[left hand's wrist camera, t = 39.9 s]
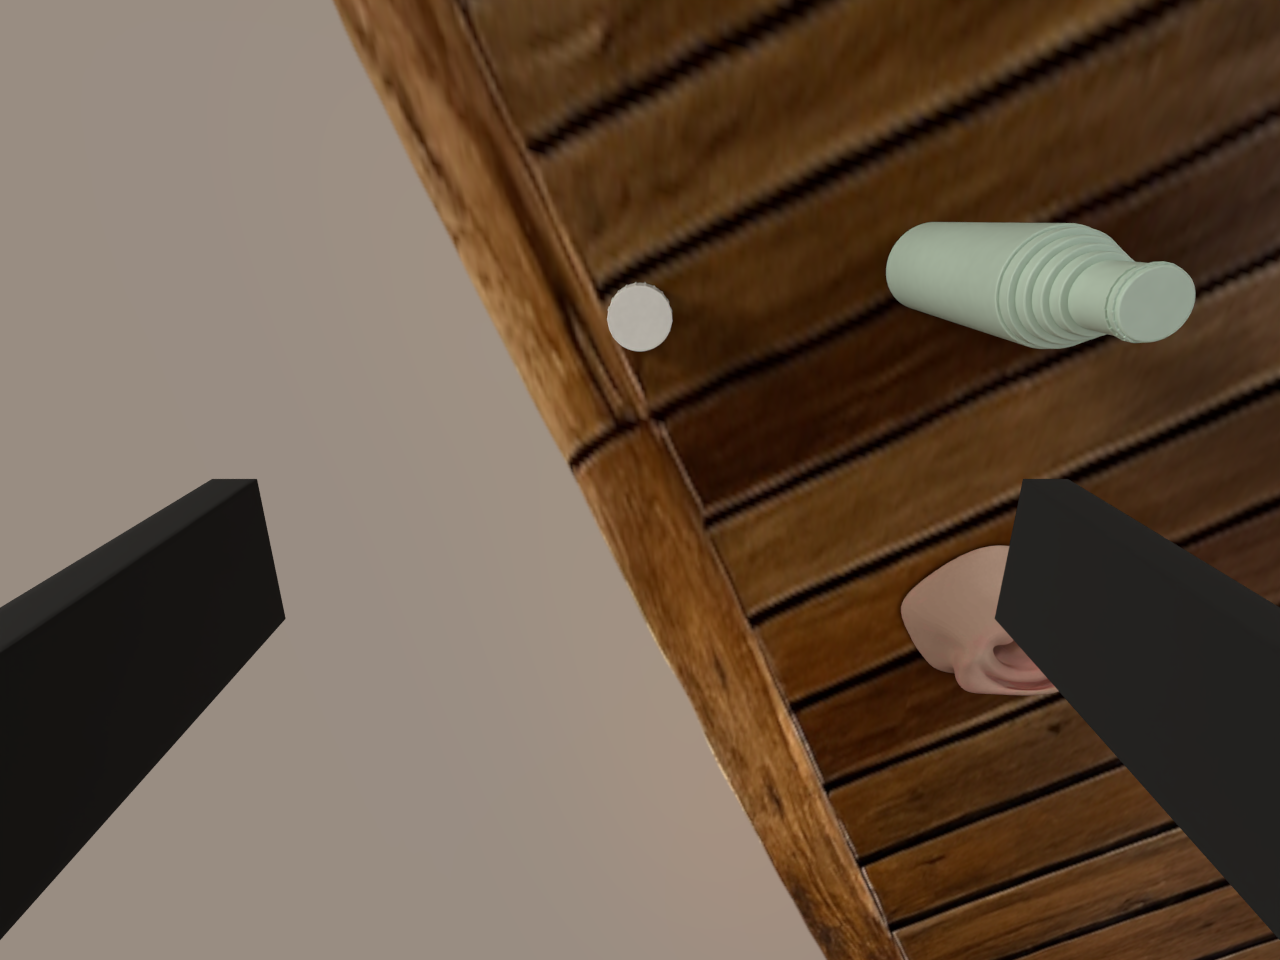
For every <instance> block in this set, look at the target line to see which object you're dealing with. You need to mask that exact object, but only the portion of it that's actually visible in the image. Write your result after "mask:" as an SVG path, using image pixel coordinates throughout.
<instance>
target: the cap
mask: <svg viewBox="0 0 1280 960" xmlns="http://www.w3.org/2000/svg"><path fill="white" fill-rule="evenodd" d="M607 321H608V326H609V330H610V332H611V334H612V336H613V337H614V339H615V340H616V341H617V342H618V343H619V344H620V345H621V346H623V347H625V348H627V349H629V350H632V351H647V350H651V349H653V348H655V347H657V346H658V345H660V344H661V343H662V342H663V341H664V340H665V339H666V337H667V336H668V334H669V332H670V329H671V325H672V322H673V320H672V309H671V308H670V305H669V300H668V299H667V298H666V297H665V295H664V294H663V291H660V290H659V289H658V288H656V287H655V285H654V286H652V285H650V284H646V282H645V283H636V282H635V283H634V284H630V285H626V287H624V288H622V289H621V290H620V291H619V290H618V292H617V294H616V295H615V296H614V298H612V300H611V305H610V307H609V308H608V318H607Z"/></svg>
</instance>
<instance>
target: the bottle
mask: <svg viewBox="0 0 1280 960" xmlns="http://www.w3.org/2000/svg"><path fill="white" fill-rule="evenodd" d="M886 278H887V283H888V286H889V289H890V291H891V293H892V294H893V296H894V297H895V298H896V299H897V300H898V301H899V302H900V303H901V304H903V305H904V306H907V307H909V308H912V309H915V310H918V311H921V312H924V313H927V314H930V315H933V316H936V317H939V318H942V319H945V320H948V321H951V322H954V323H957V324H960V325H963V326H966V327H970V328H973V329H976V330H979V331H982V332H985V333H988V334H991V335H994V336H997V337H1000V338H1003V339H1006V340H1009V341H1012V342H1015V343H1018V344H1021V345H1024V346H1028V347H1031V348H1037V349H1060V348H1067V347H1071V346H1074V345H1077V344H1080V343H1082V342H1085V341H1088V340H1091V339H1094V338H1097V337H1099V336H1103V335H1106V334H1109V335H1113V336H1116V337H1117V338H1119V339H1121V340H1123V341H1127V342H1131V343H1144V342H1146V343H1148V342H1155V341H1159V340H1161V339H1164V338H1166V337H1168V336H1170V335H1171V334H1173V333H1174V332H1176V331H1177V330H1178V329H1179V328H1180V327H1181V326H1182V325H1183V324H1184V323H1185V321H1186V320H1187V319H1188V317H1189V315H1190V313H1191V311H1192V309H1193V306H1194V303H1195V287H1194V283H1193V281H1192V279H1191V277H1190V276H1189V275H1188V274H1187V273H1186V272H1185V271H1184V270H1183V269H1182V268H1180V267H1178V266H1177V265H1175V264H1173V263H1169V262H1164V261H1162V262H1151V263H1142V262H1135V261H1134V260H1133V259H1131V258H1130V257H1129V256H1128V255H1127V254H1126V253H1125V252H1124V251H1123V250H1122V249H1121V248H1120V247H1119V246H1118V245H1117V243H1116V242H1115V241H1114V240H1113V239H1112V238H1110V237H1109V236H1108V235H1106V234H1105V233H1103V232H1101V231H1098V230H1095V229H1092V228H1090V227H1088V226H1085V225H1081V224H1075V223H980V222H929V223H924V224H921V225H918V226H916V227H914V228H912V229H910V230H909V231H907V232H906V233H905V234H904V235H903V236H902V237H901V238H900V239H899V240H898V241H897V242H896V244H895V245H894V247H893V249H892V250H891V252H890V255H889V257H888V261H887V267H886Z"/></svg>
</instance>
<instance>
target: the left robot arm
mask: <svg viewBox="0 0 1280 960" xmlns="http://www.w3.org/2000/svg"><path fill="white" fill-rule="evenodd" d="M284 620H285V614H284V609H283V604H282V599H281V594H280V590H279V585H278V580H277V575H276V570H275V565H274V560H273V555H272V551H271V546H270V541H269V536H268V531H267V526H266V521H265V516H264V511H263V507H262V502H261V497H260V492H259V487H258V482H257V479H212V480H210V481H208V482H207V483H205V484H203V485H202V486H200V487H198V488H197V489H195V490H193V491H192V492H190V493H188V494H187V495H185V496H183V497H182V498H180V499H179V500H177V501H175V502H174V503H172V504H170V505H169V506H167V507H165V508H164V509H162V510H160V511H159V512H157V513H155V514H154V515H152V516H151V517H149V518H147V519H146V520H144V521H142V522H141V523H139V524H137V525H136V526H134V527H132V528H131V529H129V530H128V531H126V532H124V533H123V534H121V535H119V536H118V537H116V538H114V539H113V540H111V541H109V542H108V543H106V544H104V545H103V546H101V547H99V548H98V549H96V550H95V551H93V552H91V553H90V554H88V555H86V556H85V557H83V558H81V559H80V560H78V561H76V562H75V563H73V564H71V565H70V566H68V567H66V568H65V569H63V570H62V571H60V572H58V573H57V574H55V575H53V576H52V577H50V578H48V579H47V580H45V581H43V582H42V583H40V584H38V585H37V586H35V587H34V588H32V589H30V590H29V591H27V592H25V593H24V594H22V595H20V596H19V597H17V598H15V599H14V600H12V601H10V602H9V603H7V604H6V605H4V606H2V607H1V608H0V940H1V938H2V937H3V936H4V935H5V934H6V933H7V932H8V931H9V929H10V928H11V927H12V926H13V925H14V924H15V923H16V921H17V920H18V919H19V918H20V917H21V916H22V915H23V914H24V913H25V911H26V910H27V909H28V908H29V907H30V906H31V905H32V903H33V902H34V901H35V900H36V899H37V898H38V897H39V896H40V894H41V893H42V892H43V891H44V890H45V889H46V888H47V887H48V886H49V884H50V883H51V882H52V881H53V880H54V879H55V878H56V876H57V875H58V874H59V873H60V872H61V871H62V870H63V869H64V868H65V866H66V865H67V864H68V863H69V862H70V861H71V860H72V858H73V857H74V856H75V855H76V854H77V853H78V852H79V851H80V849H81V848H82V847H83V846H84V845H85V844H86V843H87V842H88V840H89V839H90V838H91V837H92V836H93V835H94V834H95V833H96V831H97V830H98V829H99V828H100V827H101V826H102V825H103V824H104V822H105V821H106V820H107V819H108V818H109V817H110V816H111V814H112V813H113V812H114V811H115V810H116V809H117V808H118V807H119V806H120V804H121V803H122V802H123V801H124V800H125V799H126V798H127V797H128V795H129V794H130V793H131V792H132V791H133V790H134V789H135V788H136V786H137V785H138V784H139V783H140V782H141V781H142V780H143V779H144V777H145V776H146V775H147V774H148V773H149V772H150V771H151V770H152V768H153V767H154V766H155V765H156V764H157V763H158V762H159V761H160V759H161V758H162V757H163V756H164V755H165V754H166V753H167V752H168V750H169V749H170V748H171V747H172V746H173V745H174V744H175V743H176V741H177V740H178V739H179V738H180V737H181V736H182V735H183V734H184V732H185V731H186V730H187V729H188V728H189V727H190V726H191V724H192V723H193V722H194V721H195V720H196V719H197V718H198V717H199V715H200V714H201V713H202V712H203V711H204V710H205V709H206V708H207V706H208V705H209V704H210V703H211V702H212V701H213V700H214V699H215V697H216V696H217V695H218V694H219V693H220V692H221V691H222V690H223V688H224V687H225V686H226V685H227V684H228V683H229V682H230V681H231V679H232V678H233V677H234V676H235V675H236V674H237V673H238V672H239V670H240V669H241V668H242V667H243V666H244V665H245V664H246V663H247V661H248V660H249V659H250V658H251V657H252V656H253V655H254V654H255V652H256V651H257V650H258V649H259V648H260V647H261V646H262V645H263V643H264V642H265V641H266V640H267V639H268V638H269V637H270V636H271V634H272V633H273V632H274V631H275V630H276V629H277V628H278V627H279V625H280V624H281V623H282V622H283V621H284ZM995 620H996V621H997V622H998V623H999V624H1000V625H1001V627H1002V628H1003V629H1004V630H1005V631H1006V632H1007V633H1008V634H1009V636H1010V637H1011V638H1012V639H1013V640H1014V641H1015V642H1016V643H1017V645H1018V646H1019V647H1020V648H1021V649H1022V650H1023V651H1024V652H1025V654H1026V655H1027V656H1028V657H1029V658H1030V659H1031V660H1032V661H1033V663H1034V664H1035V665H1036V666H1037V667H1038V668H1039V669H1040V670H1041V672H1042V673H1043V674H1044V675H1045V676H1046V677H1047V678H1048V679H1049V681H1050V682H1051V683H1052V684H1053V685H1054V686H1055V687H1056V688H1057V690H1058V691H1059V692H1060V693H1061V694H1062V695H1063V696H1064V697H1065V699H1066V700H1067V701H1068V702H1069V703H1070V704H1071V705H1072V706H1073V708H1074V709H1075V710H1076V711H1077V712H1078V713H1079V714H1080V716H1081V717H1082V718H1083V719H1084V720H1085V721H1086V722H1087V723H1088V725H1089V726H1090V727H1091V728H1092V729H1093V730H1094V731H1095V732H1096V734H1097V735H1098V736H1099V737H1100V738H1101V739H1102V740H1103V741H1104V743H1105V744H1106V745H1107V746H1108V747H1109V748H1110V749H1111V750H1112V752H1113V753H1114V754H1115V755H1116V756H1117V757H1118V758H1119V759H1120V761H1121V762H1122V763H1123V764H1124V765H1125V766H1126V767H1127V768H1128V770H1129V771H1130V772H1131V773H1132V774H1133V775H1134V776H1135V777H1136V779H1137V780H1138V781H1139V782H1140V783H1141V784H1142V785H1143V786H1144V788H1145V789H1146V790H1147V791H1148V792H1149V793H1150V794H1151V795H1152V797H1153V798H1154V799H1155V800H1156V801H1157V802H1158V803H1159V804H1160V806H1161V807H1162V808H1163V809H1164V810H1165V811H1166V812H1167V813H1168V815H1169V816H1170V817H1171V818H1172V819H1173V820H1174V821H1175V822H1176V824H1177V825H1178V826H1179V827H1180V828H1181V829H1182V830H1183V831H1184V833H1185V834H1186V835H1187V836H1188V837H1189V838H1190V839H1191V840H1192V842H1193V843H1194V844H1195V845H1196V846H1197V847H1198V848H1199V850H1200V851H1201V852H1202V853H1203V854H1204V855H1205V856H1206V857H1207V859H1208V860H1209V861H1210V862H1211V863H1212V864H1213V865H1214V866H1215V868H1216V869H1217V870H1218V871H1219V872H1220V873H1221V874H1222V875H1223V877H1224V878H1225V879H1226V880H1227V881H1228V882H1229V883H1230V884H1231V886H1232V887H1233V888H1234V889H1235V890H1236V891H1237V892H1238V893H1239V895H1240V896H1241V897H1242V898H1243V899H1244V900H1245V901H1246V902H1247V904H1248V905H1249V906H1250V907H1251V908H1252V909H1253V910H1254V911H1255V913H1256V914H1257V915H1258V916H1259V917H1260V918H1261V919H1262V920H1263V922H1264V923H1265V924H1266V925H1267V926H1268V927H1269V928H1270V929H1271V931H1272V932H1273V933H1274V934H1275V935H1276V936H1277V937H1278V938H1279V940H1280V608H1279V607H1278V606H1276V605H1274V604H1273V603H1271V602H1270V601H1268V600H1266V599H1265V598H1263V597H1261V596H1260V595H1258V594H1256V593H1255V592H1253V591H1251V590H1250V589H1248V588H1246V587H1245V586H1243V585H1242V584H1240V583H1238V582H1237V581H1235V580H1233V579H1232V578H1230V577H1228V576H1227V575H1225V574H1223V573H1222V572H1220V571H1218V570H1217V569H1215V568H1214V567H1212V566H1210V565H1209V564H1207V563H1205V562H1204V561H1202V560H1200V559H1199V558H1197V557H1195V556H1194V555H1192V554H1190V553H1189V552H1187V551H1186V550H1184V549H1182V548H1181V547H1179V546H1177V545H1176V544H1174V543H1172V542H1171V541H1169V540H1167V539H1166V538H1164V537H1162V536H1161V535H1159V534H1157V533H1156V532H1154V531H1153V530H1151V529H1149V528H1148V527H1146V526H1144V525H1143V524H1141V523H1139V522H1138V521H1136V520H1134V519H1133V518H1131V517H1129V516H1128V515H1126V514H1125V513H1123V512H1121V511H1120V510H1118V509H1116V508H1115V507H1113V506H1111V505H1110V504H1108V503H1106V502H1105V501H1103V500H1101V499H1100V498H1098V497H1097V496H1095V495H1093V494H1092V493H1090V492H1088V491H1087V490H1085V489H1083V488H1082V487H1080V486H1078V485H1077V484H1075V483H1073V482H1072V481H1070V480H1069V479H1023V482H1022V487H1021V492H1020V497H1019V502H1018V507H1017V511H1016V516H1015V521H1014V526H1013V531H1012V536H1011V541H1010V546H1009V550H1008V555H1007V560H1006V565H1005V570H1004V575H1003V580H1002V585H1001V590H1000V594H999V599H998V604H997V609H996V614H995Z"/></svg>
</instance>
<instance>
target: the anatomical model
mask: <svg viewBox="0 0 1280 960" xmlns="http://www.w3.org/2000/svg"><path fill="white" fill-rule="evenodd" d="M1008 550H1009V546H1000V545H997V546H988V547H983V548H979V549H976V550H973V551H971V552H968V553H966V554H964V555H962V556H959V557H958V558H956V559H954V560H952V561H950V562H948V563H947V564H945V565H944V566H942V567H941V568H939V569H938V570H936V571H935V572H933V573H932V574H930V575H929V576H928V577H926V578H925V579H924V580H922V581H921V582H920V583H919V584H918V585H916V586H915V587H914V588H913V589H912V590H911V591H910V592H909V593H908V594H907V596H906V597H905V599H904V601H903V603H902V606H901V614H902V618H903V621H904V624H905V627H906V629H907V631H908V633H909V635H910V637H911V639H912V641H913V643H914V644H915V646H916V648H917V649H918V650H919V652H920V653H921V654H922V655H923V657H924V658H925V659H926V661H927V662H928V663H929V664H930V665H931V666H933V667H934V668H936V669H938V670H941V671H944V672H949V673H955V677H956V680H957V682H958V684H959V685H960V686H961V687H962V688H963V689H964V690H966V691H968V692H972V693H983V694H1004V695H1042V694H1049V693H1054V692H1058V690H1057V688H1056V687H1055V686H1054V685H1053V684H1052V683H1051V682H1050V681H1049V679H1048V678H1047V677H1046V676H1045V675H1044V674H1043V673H1042V672H1041V670H1040V669H1039V668H1038V667H1037V666H1036V665H1035V664H1034V663H1033V661H1032V660H1031V659H1030V658H1029V657H1028V656H1027V655H1026V654H1025V652H1024V651H1023V650H1022V649H1021V648H1020V647H1019V646H1018V645H1017V643H1016V642H1015V641H1014V640H1013V639H1012V638H1011V637H1010V636H1009V634H1008V633H1007V632H1006V631H1005V630H1004V629H1003V628H1002V627H1001V625H1000V624H999V623H998V622H997V621H996V620H995V614H996V609H997V604H998V599H999V594H1000V590H1001V585H1002V580H1003V575H1004V570H1005V565H1006V560H1007V555H1008Z"/></svg>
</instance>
